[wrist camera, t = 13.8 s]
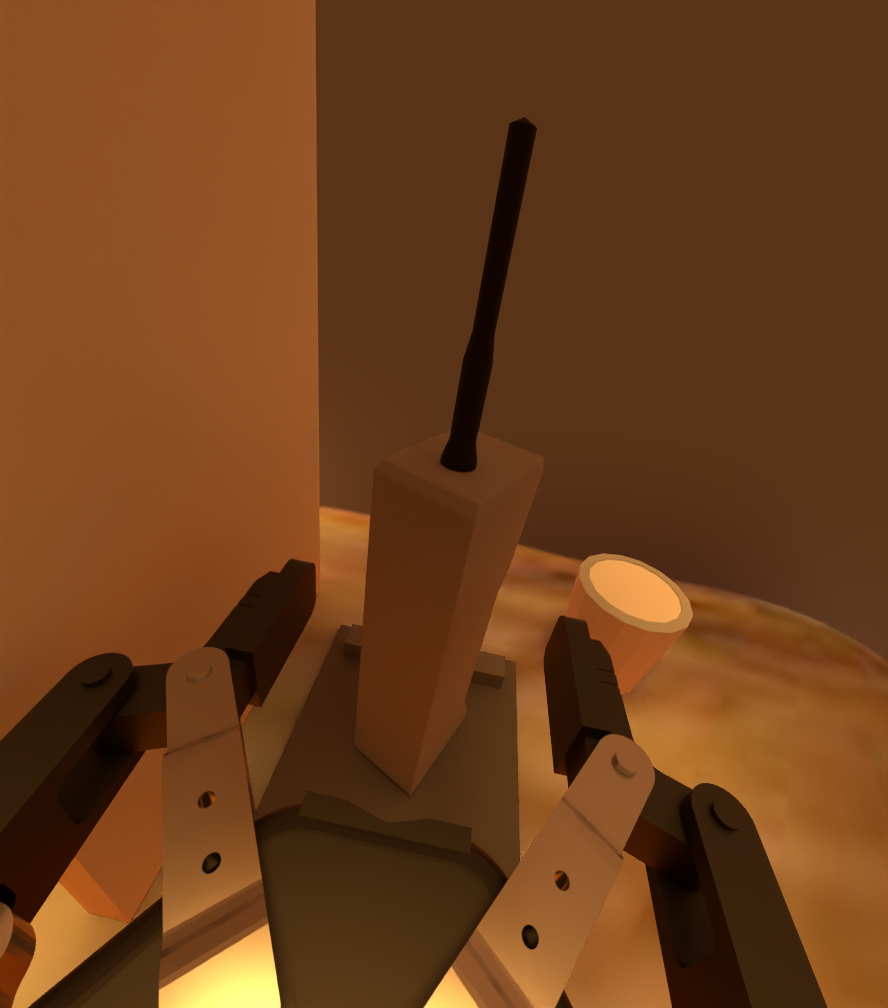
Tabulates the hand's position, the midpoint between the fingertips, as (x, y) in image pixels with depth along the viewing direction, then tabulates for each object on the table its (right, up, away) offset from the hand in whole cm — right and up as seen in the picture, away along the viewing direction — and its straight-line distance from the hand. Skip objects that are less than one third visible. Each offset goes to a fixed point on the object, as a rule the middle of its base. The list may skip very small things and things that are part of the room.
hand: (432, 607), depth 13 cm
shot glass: (+11, -8, +16) cm, 21 cm away
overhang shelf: (-3, -9, +9) cm, 13 cm away
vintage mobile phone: (-1, -9, +9) cm, 13 cm away
